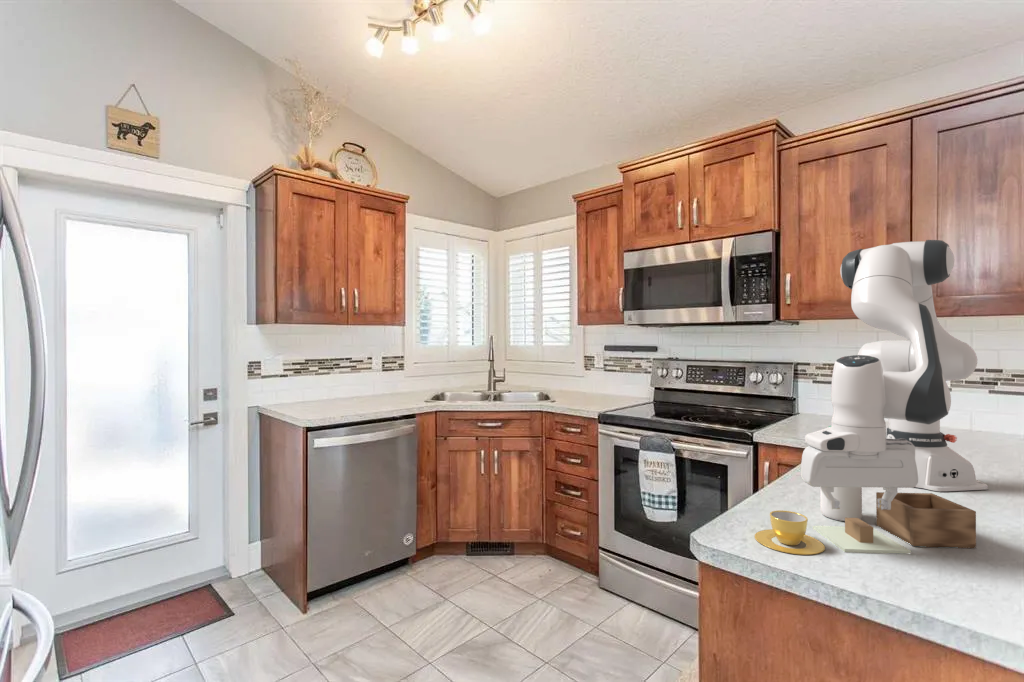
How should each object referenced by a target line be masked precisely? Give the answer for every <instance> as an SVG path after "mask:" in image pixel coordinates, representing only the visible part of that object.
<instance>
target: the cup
mask: <svg viewBox="0 0 1024 682" xmlns="http://www.w3.org/2000/svg"><path fill="white" fill-rule="evenodd" d="M769 519H770V525H771V528H770V529H762V530H760V531H758V532H756V533H755V534H754V539H755V540H756V541H757V542H758V543H759V544H761V545H762V546H764V547H766V548H768V549H772V550H775V551H777V552H783V553H786V554H794V555H806V556H807V555H818V554H820V553H823V552H824V551H825V550H826V547H825V545H824V544H823V542H821V541H820V540H819V539H817V538H815V537H813V536H811V535H808V534H806V533H807V530H808V529H807V527H808V520H809V519H808V517H807V516H806V515H804V514H801V513H799V512H795V511H790V510H777V509H776V510H773V511H770V512H769ZM773 538H776V539H777V541H778V542H779V543H781V544H783V545H786V546H792V547H793V546H798V545H799V544H800V543H801V542H803V543H804V544H805V547H801V548H791V547H785V546H782V545H779V544H777V543H775V542H774V541H773V540H772V539H773Z"/></svg>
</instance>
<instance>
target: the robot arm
mask: <svg viewBox="0 0 1024 682" xmlns="http://www.w3.org/2000/svg"><path fill="white" fill-rule="evenodd" d="M954 267H955V256H954V253H953V251H952V249H951V247H950V245H949V244H948V243H947V242H945V241H944V240H940V239H939V240H938V239H926V240H925V241H902V242H893V243H891V244H881V245H878V246H877V245H876V246H873V247H869V248H864V249H863V248H858V249H855V250H852V251H850V252H848V253H847V254H846V255H845V256H844V257H843V259H842V261H841V264H840V268H839V269H840V270H839V272H840V277H841V279H842V282H843V284H844V286H845V287H846V288H848V289H850V290H851V296H850V297H851V298H850V306H851V310H852V311H853V314H854V315H855V316H856V317H857V319H858V320H860V321H861V322H863V323H865V324H866V325H868V326H870V327H873V328H876V329H879V330H883V331H888V332H891V333H893V334H895V335H897V336H900V337H901V338H902V337H903V338H905V339H887V340H886V339H884V340H883V339H882V340H877V341H871V342H866V343H864V344H863V345H862V346H861V347H860V348H859V350H858V353H857V354H856V355H848V356H847V355H846V356H842V357H841V356H840V358H837V359H836V360H835V361H834V365H833V369H832V376H831V382H830V383H831V385H830V402H831V404H832V408H833V412H832V417H831V420H830V421H831V425H830V426H831V427H829V426H828V427H825V428H823V429H819V430H816V431H812V432H809V433H807V434H805V435H804V440H805V441H804V442H805V444H806V445H808V446H806V447H805V449H803V452H802V455H801V465H800V477H801V479H802V480H803V482H804V483H805V484H807V485H808V486H810V487H813V488H820V487H821V490H822V492H823V493H824V495H825V496H826V498H827V506H828V508H830V509H840V506H839V505H840V501H839V500H837V499H835V498H834V497H833V496H832V494H831V492H834V487H862V488H882V490H883V491H884V492H885V493H884V495H883V496H882V498H879V499H877V502H878V504H877V506H878V508H880V509H882V510H891V501H892V500H893V499H894V497H895V496H896V494H897V493H898V489H899V488H900V489H901V488H902V489H903V488H905V489H907V488H908V489H909V488H911V489H912V488H913V489H914V488H920V489H925V490H929V491H934V492H957V491H960V492H962V491H963V492H964V491H980V490H981V491H983V490H989V486H988V484H986V483H985V482H983V481H981V480H978V479H977V477H976V471H975V468H974V466H973V464H972V462H971V461H969V460H968V459H966V458H965V457H963V456H962V455H961V454H959V453H957V452H956V451H955V450H954V449H952V448H951V447H949V446H948V443H949V442H950V443H956V442H957V441H958V437H957V436H956V435H954V434H950V433H946V434H945V433H943V432H942V431H941V420H942V419H943V418H945V417H946V416H948V415H949V411H950V410H951V405H952V396H951V395H952V394H951V390H950V388H949V386H948V383H947V381H958V380H966V379H967V378H969V377H971V375H972V374H973V373H974V372H975V370H976V369H977V366H978V357H977V353H976V352H975V350H974V349H973V348H972V346H970V345H969V344H968V343H967V342H965V341H962V340H960V339H958V338H956V337H954V336H952V334H951V333H949V332H948V331H946V330H945V328H944V327H943V326H942V325H941V324H940V322H939V320H938V317H937V314H936V307H935V303H934V302H935V301H934V296H933V295H934V294H933V288H932V285H936V284H939V283H942V282H945V281H946V280H947V279H948V278H949V277H951V273H952V271H953V269H954ZM887 419H888V427H887V425H886V420H887ZM947 442H948V443H947Z"/></svg>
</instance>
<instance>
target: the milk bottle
mask: <svg viewBox="0 0 1024 682" xmlns="http://www.w3.org/2000/svg"><path fill="white" fill-rule="evenodd" d="M828 427H831V425H828ZM819 488H820V489H819V490H820V497H819V499H820V501H819V502H820V506H819V507H820V513H821V514H822V516H824V517H827V518H828V519H832V520H836V521H841V522H845V518H859V519H860V520H862V518H863V487H834V492H831V494H832V496H833V497H834V498H835V499H837V500H839V501H840V505H839V506H840V509H830V508H828V506H827V498H826V496H825V495H824V493H823V492H822V490H821V487H819Z"/></svg>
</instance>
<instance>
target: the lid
mask: <svg viewBox="0 0 1024 682" xmlns="http://www.w3.org/2000/svg"><path fill="white" fill-rule="evenodd" d="M812 530H814V531H815V530H816V531H815V532H816V533H818V534H819V533H820V534H819V535H820V536H822V537H823V536H824V537H823V538H825V539H826V538H827V539H828V541H829V542H830V541H831V542H832V544H833V545H834V544H835V545H836V547H837V548H838V547H839V548H838V549H840V550H841V551H842V552H843V553H859V554H864V553H865V554H887V553H911V554H912V550H911V549H909V548H907V547H905V546H903V545H902V544H900V543H898V542H897V541H895V540H894V539H892V538H890V536H889V537H888V536H887V535H885V534H884V533H882V532H880V531H879V530H877V529H876V528H874V526H872V525H870V524H869V523H867V522H865V521H864V520H862V519H861V520H860V519H859V518H845V521H844V526H842V525H841V526H838V525H837V526H836V525H812ZM827 539H826V540H827ZM831 542H830V543H831ZM835 545H834V546H835Z"/></svg>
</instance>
